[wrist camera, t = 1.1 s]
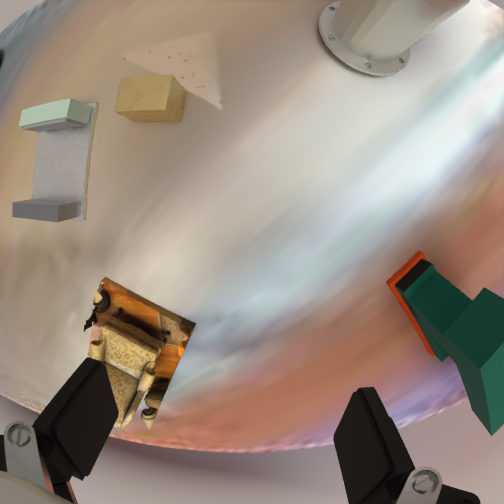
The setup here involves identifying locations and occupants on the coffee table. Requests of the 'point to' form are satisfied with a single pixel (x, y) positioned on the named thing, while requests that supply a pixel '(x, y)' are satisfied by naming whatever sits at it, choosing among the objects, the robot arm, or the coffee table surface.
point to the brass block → (151, 99)
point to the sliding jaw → (55, 115)
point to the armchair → (135, 348)
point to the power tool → (458, 332)
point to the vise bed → (60, 174)
